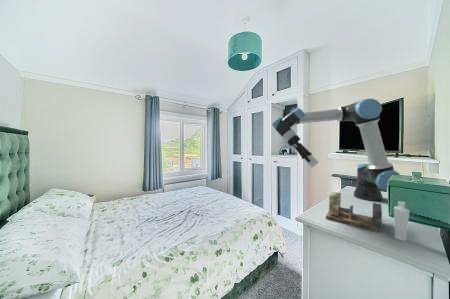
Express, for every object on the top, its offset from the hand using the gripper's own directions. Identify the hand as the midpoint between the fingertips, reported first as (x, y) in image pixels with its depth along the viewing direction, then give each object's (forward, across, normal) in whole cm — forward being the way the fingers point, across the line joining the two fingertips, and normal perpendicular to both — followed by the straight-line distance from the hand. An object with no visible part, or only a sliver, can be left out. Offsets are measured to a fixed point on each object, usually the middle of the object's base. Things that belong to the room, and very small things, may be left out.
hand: (315, 165), depth 102 cm
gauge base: (+31, +9, -3) cm, 32 cm away
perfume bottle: (+41, +17, +8) cm, 45 cm away
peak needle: (+29, +10, -3) cm, 31 cm away
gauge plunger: (+26, +8, -6) cm, 28 cm away
